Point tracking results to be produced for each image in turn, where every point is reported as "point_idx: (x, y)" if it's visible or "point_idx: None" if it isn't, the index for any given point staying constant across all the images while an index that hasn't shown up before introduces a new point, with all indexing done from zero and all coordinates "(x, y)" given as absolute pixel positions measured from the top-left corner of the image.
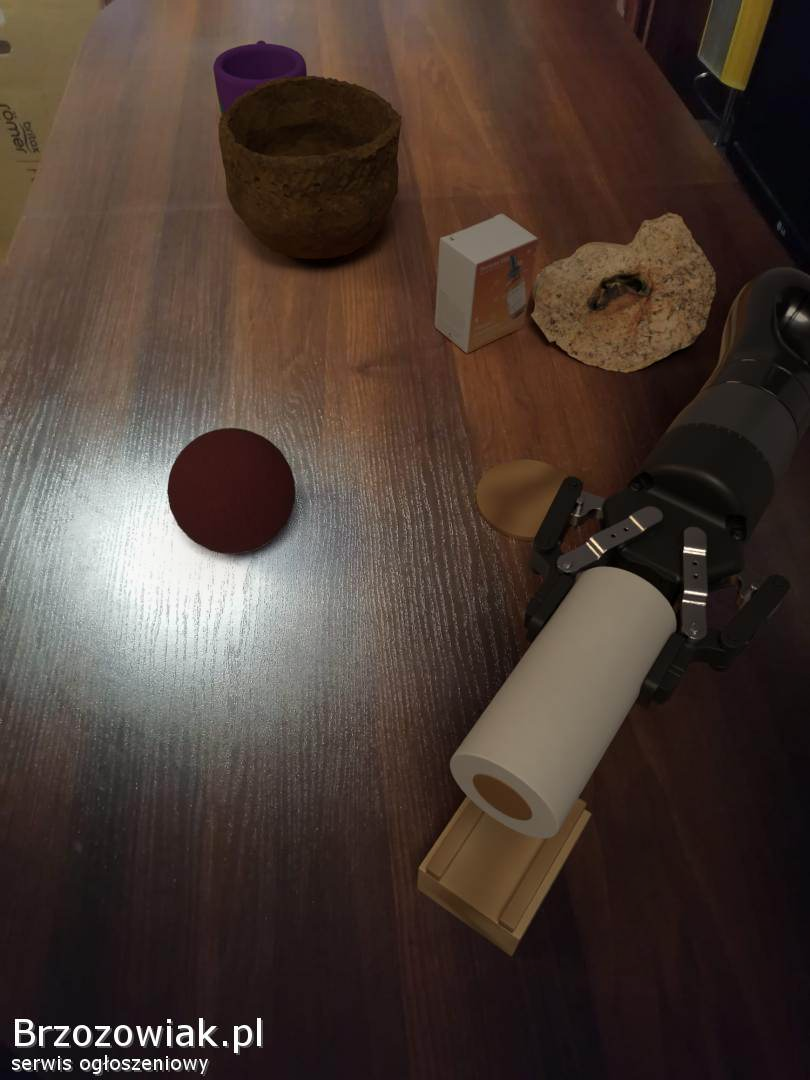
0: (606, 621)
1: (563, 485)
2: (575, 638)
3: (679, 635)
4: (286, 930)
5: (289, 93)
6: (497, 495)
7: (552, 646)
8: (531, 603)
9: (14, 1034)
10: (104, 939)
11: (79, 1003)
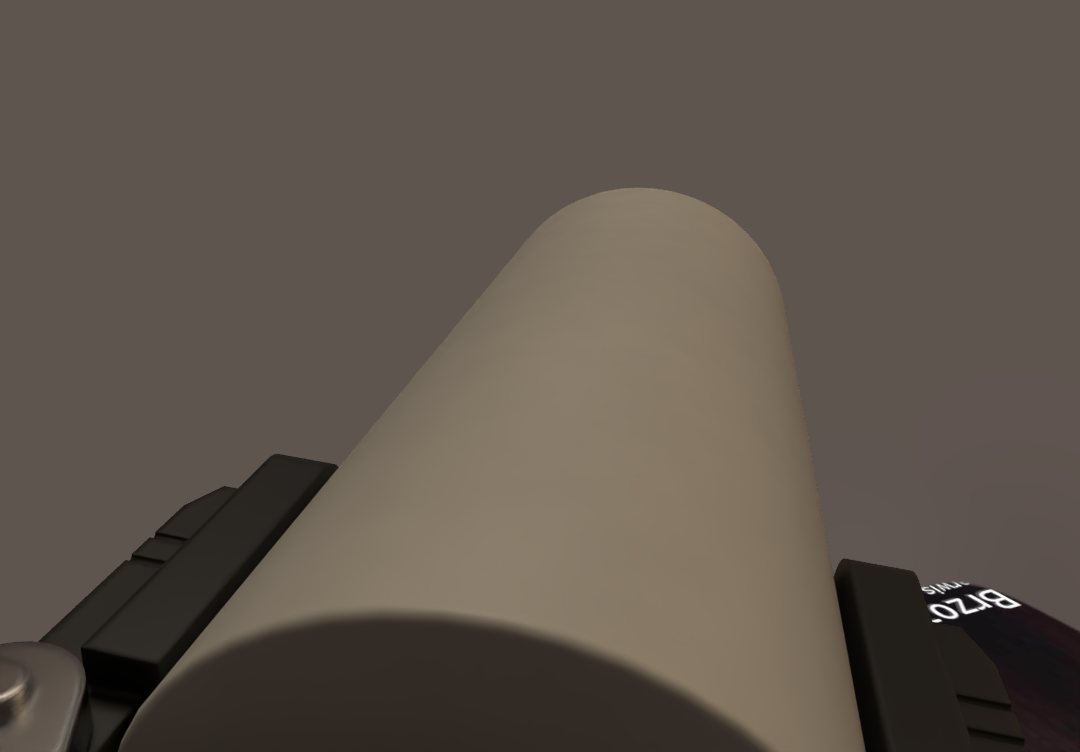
0: (587, 383)
1: None
2: (680, 344)
3: (120, 657)
4: None
5: None
6: None
7: (742, 356)
8: (981, 676)
9: (1004, 595)
10: (1038, 690)
11: (981, 631)
